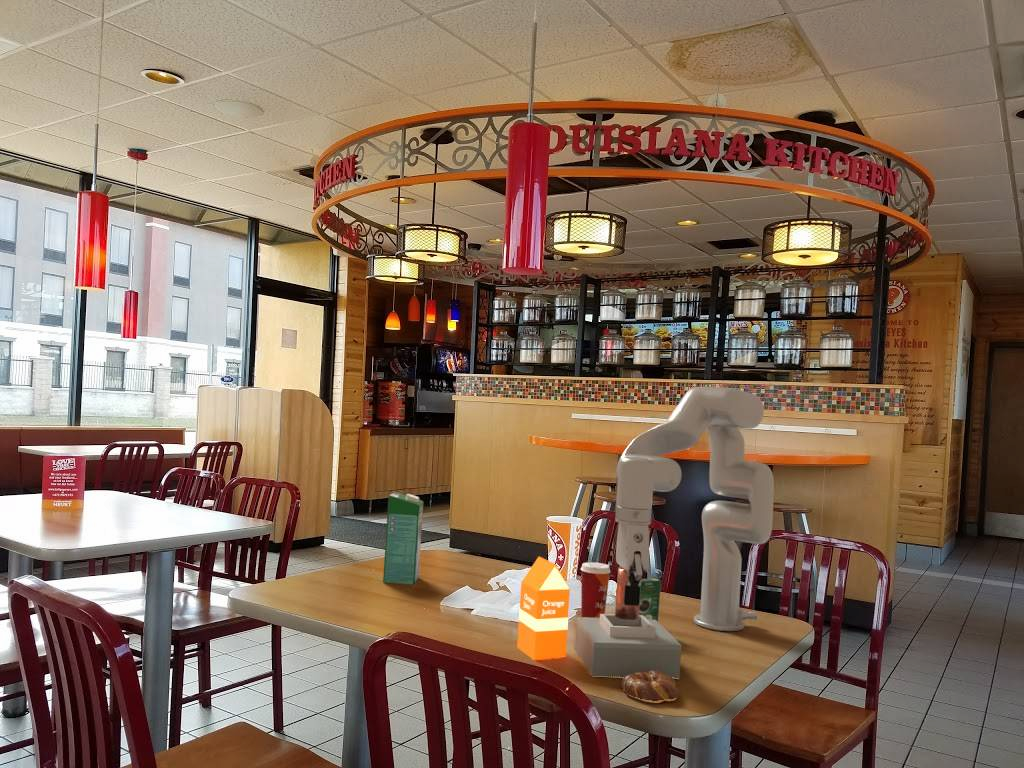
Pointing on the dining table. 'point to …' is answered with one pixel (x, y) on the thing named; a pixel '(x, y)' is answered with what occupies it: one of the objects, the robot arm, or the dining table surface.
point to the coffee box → (650, 598)
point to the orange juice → (543, 612)
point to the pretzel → (650, 685)
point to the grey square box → (626, 646)
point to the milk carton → (403, 539)
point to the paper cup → (594, 589)
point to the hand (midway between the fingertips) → (627, 600)
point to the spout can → (621, 609)
